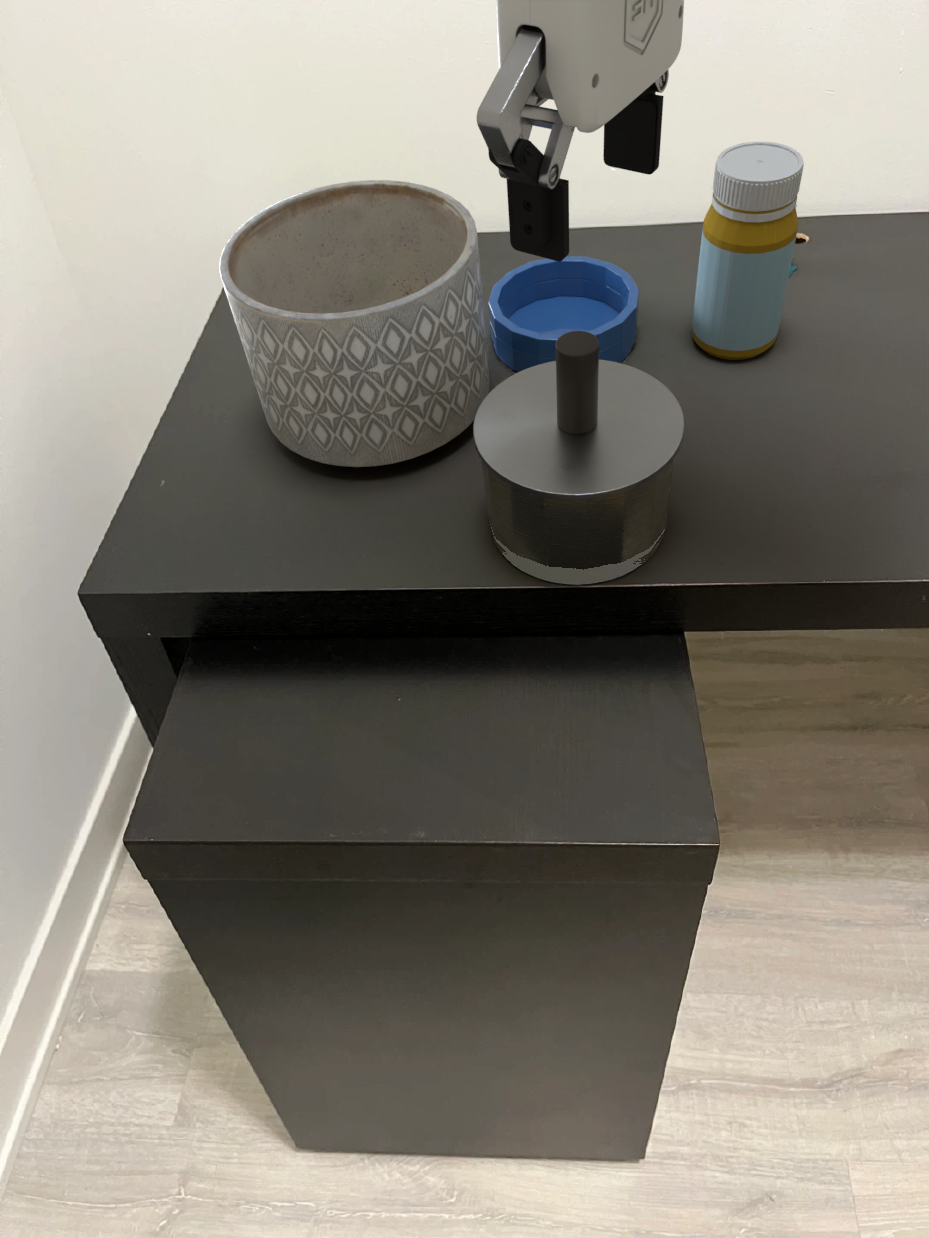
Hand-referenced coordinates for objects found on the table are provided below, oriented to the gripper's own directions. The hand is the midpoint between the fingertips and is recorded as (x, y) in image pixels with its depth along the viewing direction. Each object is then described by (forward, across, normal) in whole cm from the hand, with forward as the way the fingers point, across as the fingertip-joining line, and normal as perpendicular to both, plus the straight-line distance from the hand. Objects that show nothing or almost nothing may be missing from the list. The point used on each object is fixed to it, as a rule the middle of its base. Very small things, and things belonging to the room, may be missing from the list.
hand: (587, 208), depth 51 cm
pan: (+23, +18, +12) cm, 32 cm away
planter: (+23, +3, +21) cm, 32 cm away
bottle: (+23, +24, 0) cm, 34 cm away
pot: (+23, -1, 0) cm, 23 cm away
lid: (+15, -1, 0) cm, 15 cm away
